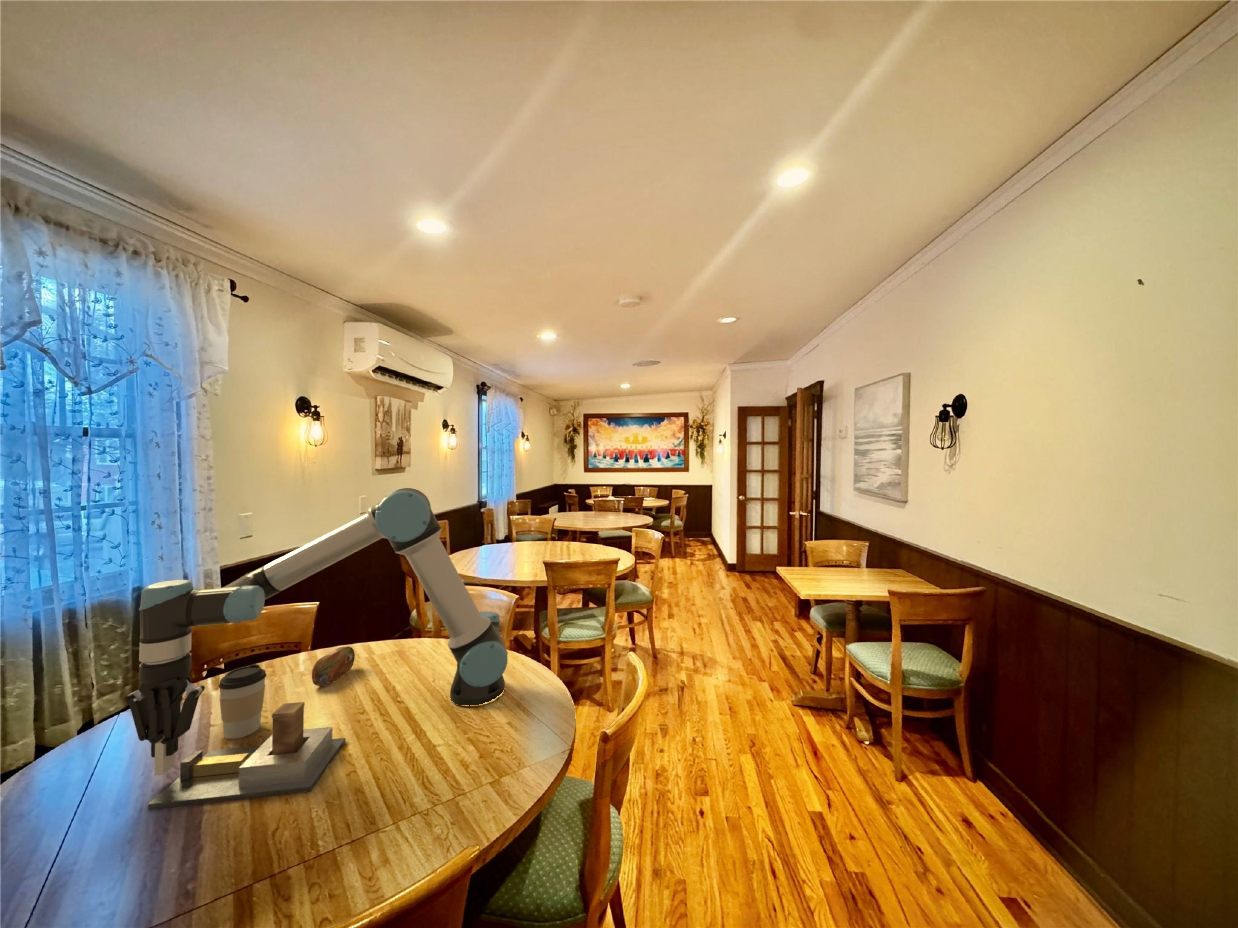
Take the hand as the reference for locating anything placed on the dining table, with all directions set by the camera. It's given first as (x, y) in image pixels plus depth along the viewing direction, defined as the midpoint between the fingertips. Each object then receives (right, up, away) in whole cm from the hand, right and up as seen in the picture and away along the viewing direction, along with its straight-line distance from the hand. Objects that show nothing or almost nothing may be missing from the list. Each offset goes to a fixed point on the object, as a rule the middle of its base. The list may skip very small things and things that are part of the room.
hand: (164, 770), depth 90 cm
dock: (+17, -2, +3) cm, 17 cm away
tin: (+6, -3, +44) cm, 44 cm away
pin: (+9, -1, +2) cm, 9 cm away
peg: (+23, -2, +4) cm, 23 cm away
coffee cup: (+1, -3, +17) cm, 18 cm away
